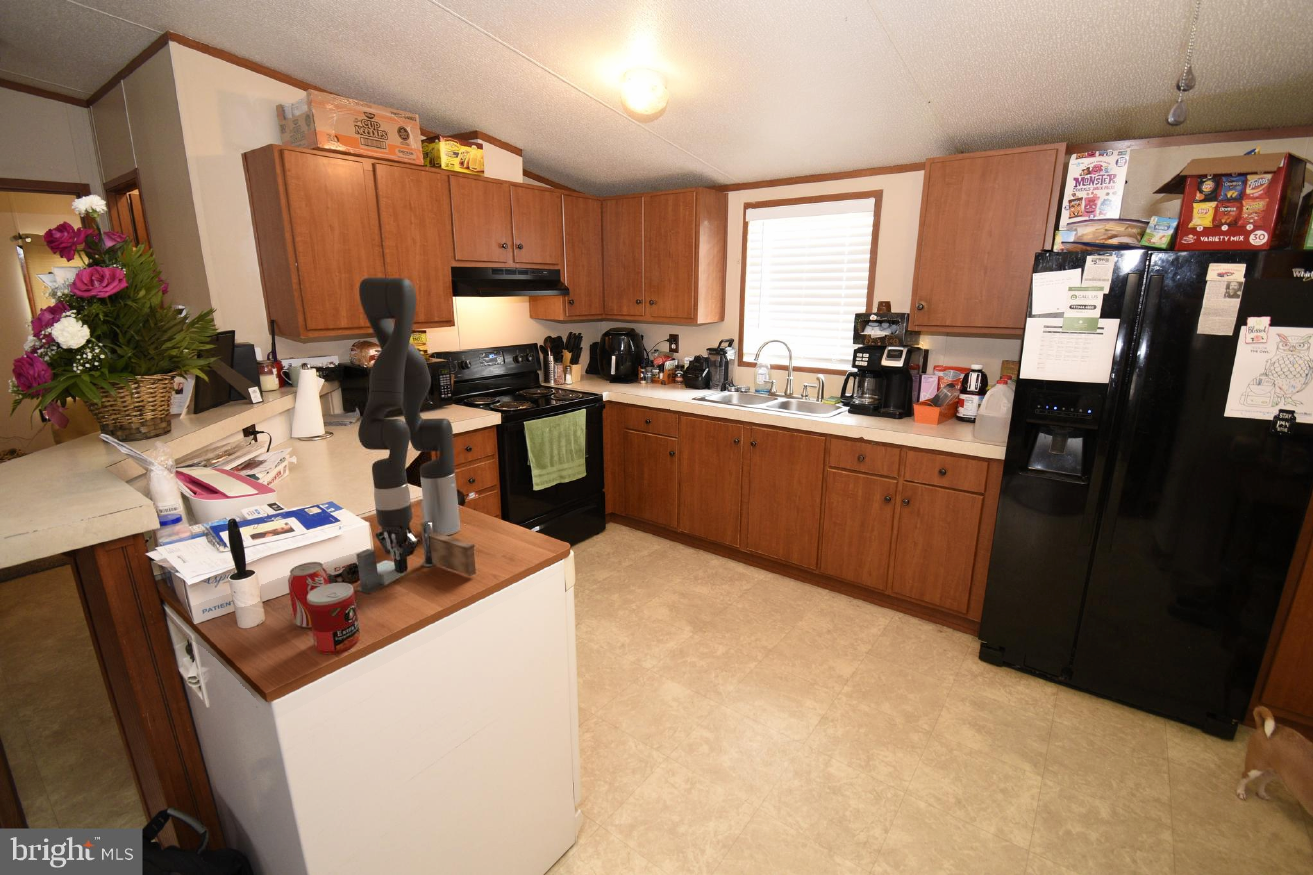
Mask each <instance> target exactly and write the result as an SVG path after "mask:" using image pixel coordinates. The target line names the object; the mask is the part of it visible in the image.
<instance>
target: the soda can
mask: <svg viewBox="0 0 1313 875" xmlns="http://www.w3.org/2000/svg"><path fill="white" fill-rule="evenodd" d="M323 566H324V565H323V563H322V562H320V561H319V562H318V561H311V562H310V561H309V562H305V563H300V564H298V565H296V566H293V567H292V568H291V569H290V571H289V573H290V574H289V577H288V579H287V584H288V592H289V598H290V602H291V604H290V605H291V608H292V615H293V619H294V622H295V624H296V625H297V626H299V627H303V628H312V627H311V622H310V616H309V610H308V603H307V595H308V594H309V593H310V592H311V591H312V590H314V589H316V588H318V587H321V586H323V585H327V584H330V579H329V575H328V570H326V568H325V567H323Z"/></svg>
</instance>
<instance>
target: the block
mask: <svg viewBox="0 0 1313 875" xmlns="http://www.w3.org/2000/svg"><path fill="white" fill-rule="evenodd" d="M377 570H378V578H379V583H381V584H384V585H385V586H386V585H388V584H390V583H391V582H393V581H395V580H397V579H400V578H401V577H403V576H404V575H405V574H406V573H405V572H404V573H402V574H400V573H397V572H396V571H395V565H394V561H391V560H386V559H385V560H383V561H380V562H379V563H377Z"/></svg>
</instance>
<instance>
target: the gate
mask: <svg viewBox="0 0 1313 875" xmlns="http://www.w3.org/2000/svg"><path fill="white" fill-rule="evenodd" d="M428 538H430V546H431V555H432V563H434V564H437V565H436V566H439V567H443V568H445V569H449V570H451V571H454V572H456V573H458V574H459V573H460V574H463V575H465V576H468V577H471V576H474V575H475V574H477V571H476V570H477V569H476V560H475V557H476V556H475V549H474V548H476V546H475V543H471V542H468V541H464V540H462V539H461V540H460V539H458V538H456V537H455V538H454V537H451V536H449V535H447V536H445V535H442V534H439V533H433V534H431V535H428Z"/></svg>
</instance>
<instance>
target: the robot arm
mask: <svg viewBox="0 0 1313 875" xmlns="http://www.w3.org/2000/svg"><path fill="white" fill-rule="evenodd" d="M358 294H359V295H358V296H359V301H360V305H361V307H362V310H363V312H364V314H365V317H366V319H367V322H368V323H369V325H370V328H371V330H372V332H373V334H374V336H375V338H376V340H377V344H378V346H379V347H380V350H381V351H380V352H379V353H378V355H377V356H376V358H375V359H374V361H373V364H372V365H371V369H370V374H369V391H368V400H367V403H366V406H365V409H364V412H363V415H362V418H361V420H360V423H359V426H358V433H357V435H358V440H359V443H360V444H361V446H362V447H363V448H365V449H367V450H370V451H371V450H372V451H374V450H375V451H384V450H385V451H387V450H388V451H389V454H388V456H387V457H385V458H381V459H377V460H375V461H374V462H373V463H372V466H371V473H372V482H373V490H374V492H373V499H374V505H375V506H374V507H375V514H376V521H377V525H378V526H379V527H381V530H380V531H378V532H376V533H375V535H374V536H375V537H376V539H377V541H378V542H379V544H380V545H381V547H382V549H383V550H384V552H385V554H386V555H390V557H391V558H392V559H393V562H394V565H395V571H396V572H397V573H400V574H402V573H404V572H407V571H408V568H409V567H408V557H410V556H412V555H413V554H414V552H415V551H416V549H417V548H418V545H420V544H419V543H420V542H421V538H419V537H415V536H414V535H413V532H412V531H413V530H412V528H411V526H410V525H411V524H410V523H411V522H412V520H413V518H414V517H413V510H412V500H411V492H410V488H409V484H408V478H407V469H406V465H407V456H408V450H409V445H411V446H412V448H413V449H414V450H415V451H417V452H425V453H426V452H430V453H431V452H438V456H437V457H436V458H434V459H432V460H429V461H427V462H425V463H423V464H422V465H421V466H420V467H419V476H420V483H421V484H420V485H421V494H422V500H421V501H420V506H421V513H422V515H421V516H422V522H424V521H432V527H433V533H439V534H442V535H445V536H450V535H453V534H456V533H458V532H459V531H460V530H461V521H460V511H459V502H458V491H457V489H458V488H457V480H456V471H455V470H456V469H455V452H454V450H455V449H454V431H453V425H452V423H451V421H450V420H449V419H448V418H444V417H443V418H441V417H439V418H424V417H422V416H421V413H420V410H421V407H422V405H423V403H424V401H425V398H426V396H427V395H428V393H429V390H430V388H431V384H432V377H431V374H430V371H429V368H428V364H427V361H426V357H424V355H423V354H422V353H421V352H420V350H419V349H418V348H417V347H416V346H415V345H413V344H412V342H411V337H412V332H413V326H414V322H415V316H416V310H417V308H416V307H417V295H416V294H417V293H416V289H415V286H414V285H413V283H412V282H411V281H410V280H409V279H408V278H403V277H382V276H381V277H380V276H379V277H366V278H364V279H363V278H362V280H361V281H360V283H359V286H358ZM393 320H394V323H393ZM399 408H401V410H402V414H403V419H404V420H403V419H401V418H384V417H385V415H386V414H387V412H388V411H393V410H396V409H399Z"/></svg>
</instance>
